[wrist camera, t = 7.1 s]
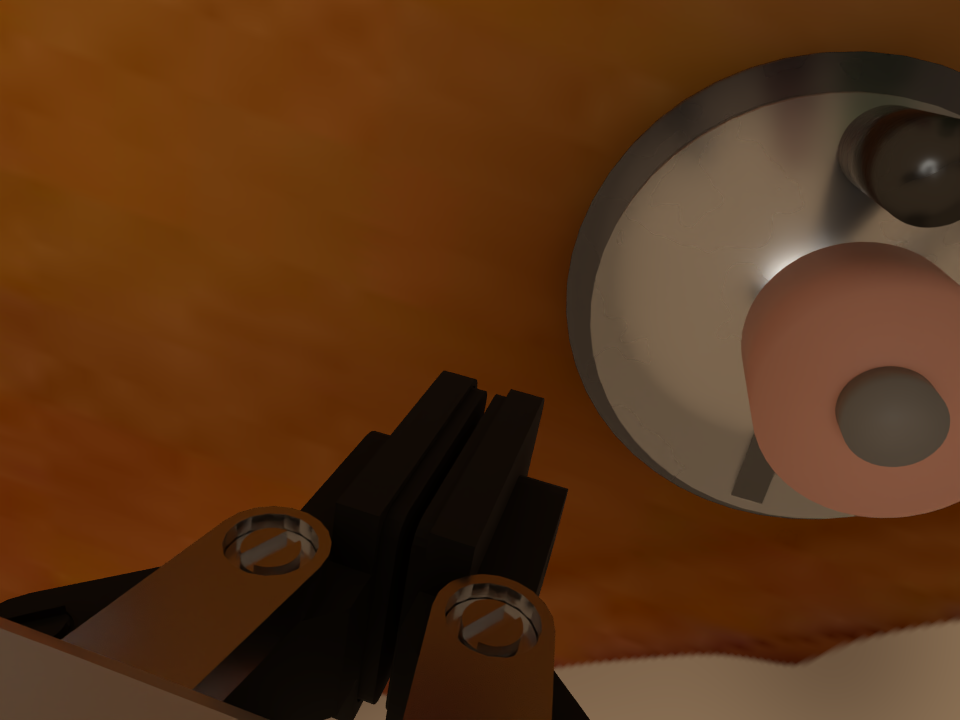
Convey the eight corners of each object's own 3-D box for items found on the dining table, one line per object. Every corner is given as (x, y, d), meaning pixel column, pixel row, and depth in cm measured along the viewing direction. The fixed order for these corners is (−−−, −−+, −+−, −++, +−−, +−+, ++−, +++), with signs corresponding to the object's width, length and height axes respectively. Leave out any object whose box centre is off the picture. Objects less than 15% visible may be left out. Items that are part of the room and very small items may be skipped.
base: (1189, 108, 19) (1218, 112, 18) (945, 552, 26) (956, 573, 25) (632, 9, 22) (629, 6, 21) (533, 433, 28) (527, 448, 27)
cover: (1008, 269, 20) (1109, 336, 15) (917, 458, 22) (978, 567, 17) (778, 220, 21) (803, 269, 16) (716, 405, 23) (721, 495, 18)
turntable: (1159, 145, 19) (1345, 179, 13) (940, 546, 24) (1010, 685, 19) (653, 50, 21) (639, 47, 16) (557, 437, 26) (522, 533, 21)
